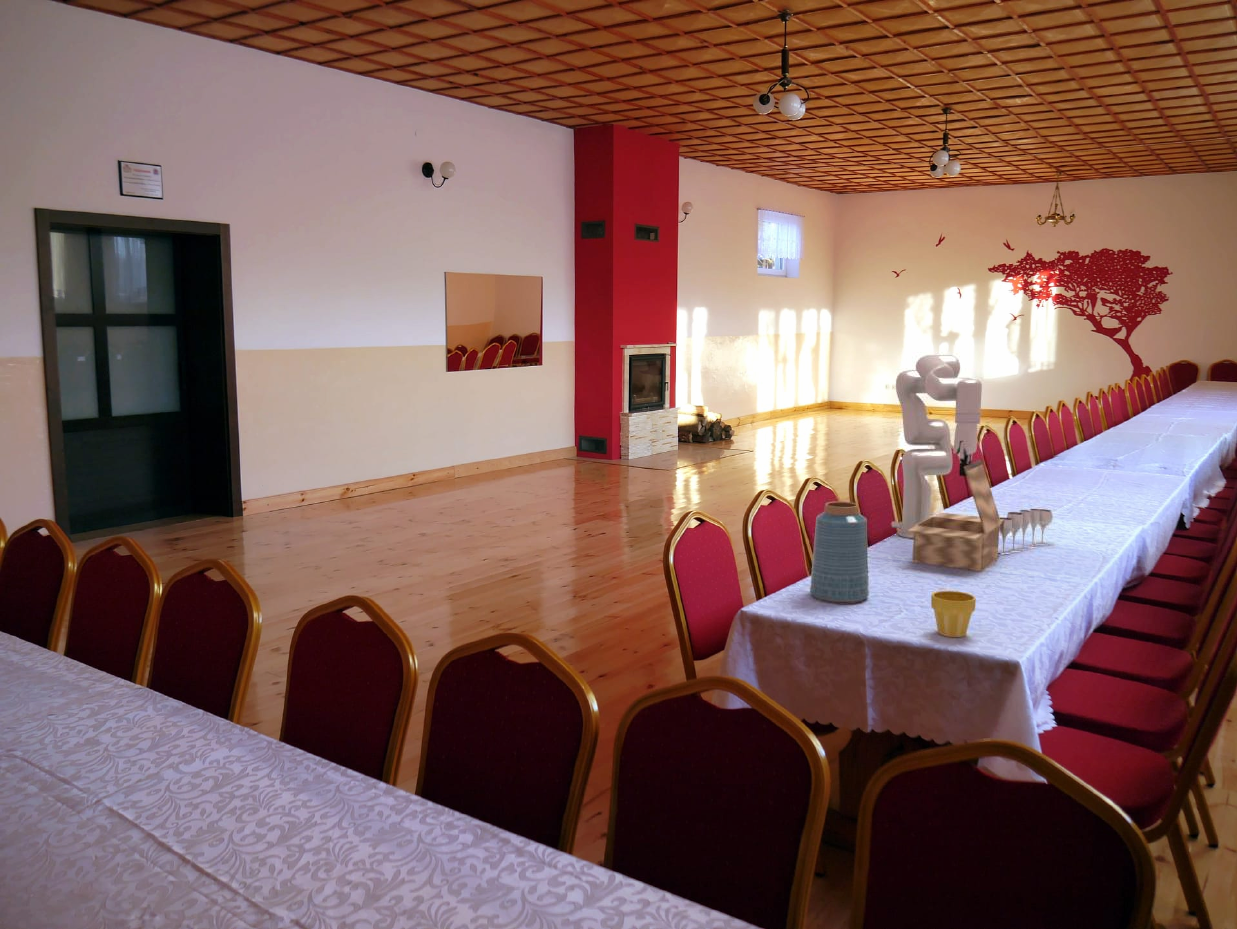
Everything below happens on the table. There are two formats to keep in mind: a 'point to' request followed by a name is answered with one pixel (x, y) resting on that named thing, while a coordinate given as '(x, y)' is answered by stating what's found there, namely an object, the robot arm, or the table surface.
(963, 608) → the plant pot
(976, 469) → the lid flap
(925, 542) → the carton
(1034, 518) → the goblet set
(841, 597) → the vase
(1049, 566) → the table surface
